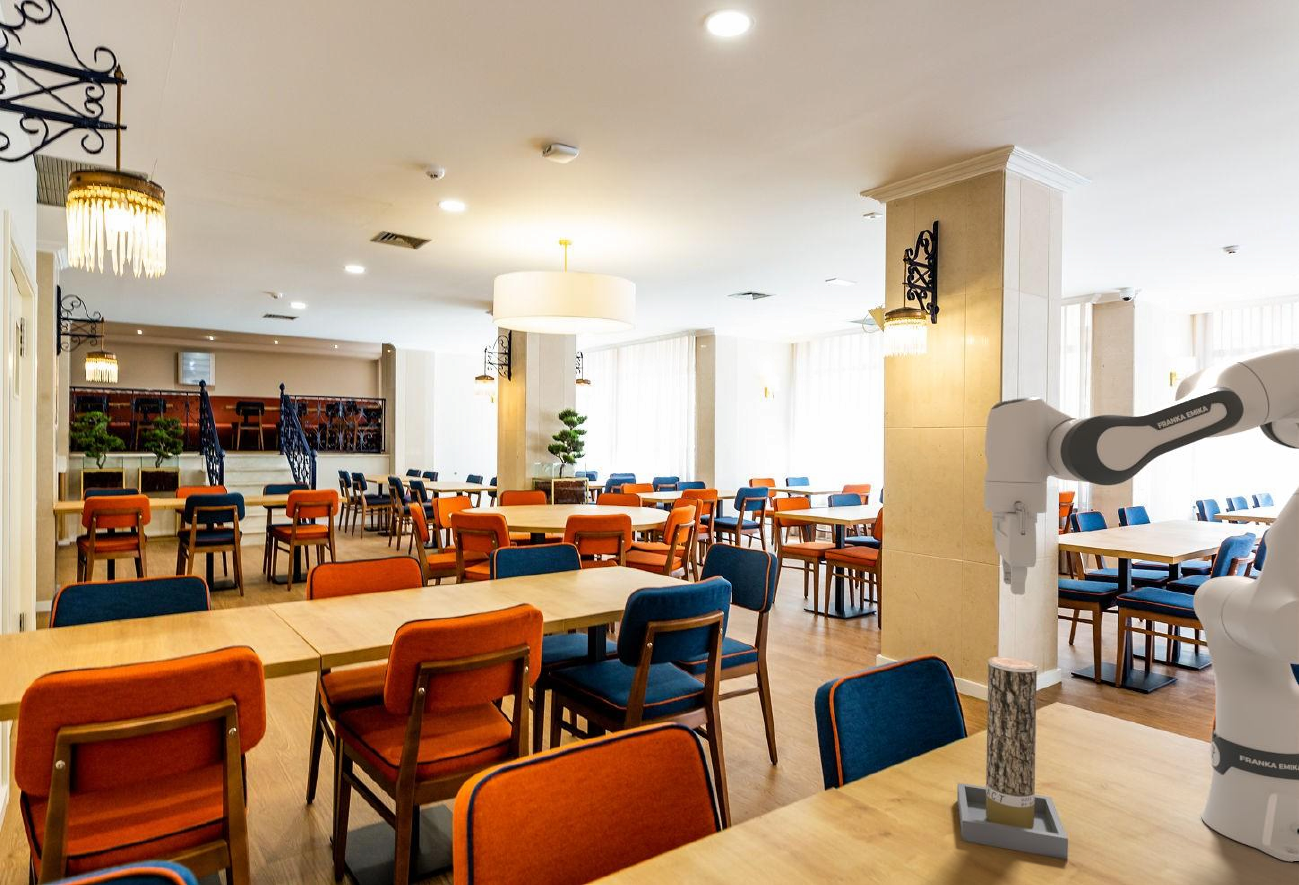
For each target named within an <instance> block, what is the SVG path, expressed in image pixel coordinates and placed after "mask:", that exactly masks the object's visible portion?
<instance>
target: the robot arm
mask: <svg viewBox="0 0 1299 885" xmlns="http://www.w3.org/2000/svg"><path fill="white" fill-rule="evenodd" d="M1257 427H1258V428H1260V430H1261V431H1262V432H1263V434H1264V436H1265V437H1266V438H1268V440H1270V441H1272V442H1273V443H1276V444H1279V445H1280V446H1282V447H1285V448H1290V449H1295V450H1297V449H1298V450H1299V348H1295V347H1281V348H1275V349H1267V350H1262V351H1256V352H1253V353H1248V354H1247V353H1246V354H1245V355H1240V356H1237V357H1234V358H1231V359H1228V360H1224V361H1221V362H1219V363H1215V364H1213V365H1210V366H1208V367H1206V368H1203V369H1201V370H1199V371H1197V372H1195V373H1194V374H1191V375H1189V376H1188V377H1186V378H1185V379H1183V380H1182V381H1181V382H1180V383H1179V385H1178V387H1177V389H1176V393H1175V401H1173V402H1171V403H1168V404H1165V405H1161V406H1159V407H1157V408H1154V409H1151V410H1149V411H1145V412H1144V413H1140V414H1138V415H1133V416H1132V415H1121V414H1119V415H1118V414H1100V415H1096V416H1092V417H1085V418H1084V417H1083V418H1077V417H1074V416H1072V415H1069V414H1067V413H1065V412H1062V411H1060V410H1058V409H1056V408H1054V407H1053V406H1052V405H1049V403H1047V402H1046V401H1044V400H1043V398H1041V397H1040V396H1039V397H1038V396H1026V397H1021V398H1020V397H1019V398H1014V399H1009V400H1004V401H999V402H997V403H996V404H994V405H993V406H992V407H991V408H990V410H989V413H988V417H987V421H986V428H985V429H986V430H985V441H984V442H985V444H984V454H985V458H986V462H987V468H986V469H987V470H986V473H985V475H984V484H983V485H984V492H983V493H984V494H983V495H984V497H983V498H984V499H983V500H984V501H983V510H985V511H988V512H991V520H992V523H991V524H992V532H993V541H994V542H993V543H994V548H995V551H996V552H997V553H998V554H999V555H1000V557H1001V562H1002V572H1003V577H1002V578H1003V583H1005V584H1006V585H1010V591H1011V593H1012V594H1013V595H1025V593H1026V580H1027V576H1028V568H1034V567H1036V563H1037V528H1036V527H1037V526H1036V524H1037V523H1038V514H1045V513H1047V500H1048V499H1047V497H1048V493H1047V492H1048V489H1047V488H1048V479H1049V476H1051V477H1053V478H1055V479H1059V480H1062V481H1063V480H1065V481H1071V482H1072V481H1073V482H1083V483H1085V482H1086V483H1090V484H1095V485H1099V486H1115V485H1116V486H1117V485H1119V484H1122V483H1125V482H1127V481H1129V480H1131V479H1132V478H1133V477H1135V475H1137V474H1139V472H1140V471H1142V470H1143V469H1144V468H1145V467H1146V466H1147V465H1148V464H1149V463H1150V462H1152V461H1153V460H1155V459H1156V458H1158V457H1159V456H1162V455H1164V454H1167V453H1169V452H1172V451H1174V450H1176V449H1180V448H1183V447H1184V446H1188V445H1190V444H1193V443H1196V442H1198V441H1201V440H1203V439H1208V438H1209V439H1210V438H1218V437H1225V436H1229V435H1234V434H1238V433H1243V432H1246V431H1249V430H1252V429H1255V428H1257ZM1264 543H1265V544H1264V545H1265V547H1266V551H1265V558H1264V560H1263V564H1262V568H1261V570H1260V573H1259V575H1258V576H1257V577H1256V578H1251V577H1248V576H1243V575H1223V576H1217V577H1213V578H1210V579H1208V580H1206V581H1205V582H1203V583H1201V585H1199V587H1198V588H1197V589H1196V590H1195V593H1194V596H1193V602H1192V604H1193V605H1192V606H1193V610H1194V613H1195V615H1196V617H1197V618H1198V620H1199V622H1200V624H1201V626H1202V629H1203V633H1204V636H1205V637H1204V638H1205V641H1206V645H1207V648H1208V649H1207V650H1208V654H1209V657H1210V663H1211V667H1212V671H1213V677H1214V685H1215V729H1214V730H1212V732H1211V742H1210V761H1211V762H1210V763H1211V766H1212V774H1211V783H1210V788H1209V791H1208V792H1209V793H1208V796H1207V799H1206V802H1205V806H1204V808H1203V810H1202V812H1201V819H1202V821H1203V822H1204V823H1205V824H1206V825H1207V826H1209V827H1210V828H1211V829H1212V830H1215V831H1216V832H1218V833H1219V834H1221V835H1222V836H1225V837H1227V838H1229V839H1232V840H1234V841H1237V842H1238V843H1241V844H1244V845H1248V846H1249V847H1252V848H1255V849H1258V850H1260V851H1262V852H1264V853H1266V854H1267V855H1270V856H1271V857H1274V858H1276V859H1279V860H1282V861H1286V862H1293V861H1299V684H1298V682H1297V679H1296V677H1295V674H1294V673H1293V672H1294V671H1293V668H1292V666H1291V664H1293V665H1299V486H1298V487H1297V489H1296V490H1295V491H1294V492H1293V493H1292V495H1291V497H1290V498H1289V499H1288V501H1287V502H1286V504H1285V505H1284V506H1283V508H1282V510H1281V511H1280V513H1279V514H1278V515H1277V517H1276V519H1274V521H1273V522H1272V524H1271V526H1270V527H1269V529H1268V530H1267V531H1266V532H1265V535H1264Z"/></svg>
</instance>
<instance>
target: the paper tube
mask: <svg viewBox="0 0 1299 885" xmlns="http://www.w3.org/2000/svg"><path fill="white" fill-rule="evenodd" d="M987 664H988V668H987V712H986V713H987V715H986V716H987V717H986V718H987V720H986V721H987V722H986V723H987V724H986V727H987V728H986V769H985V770H986V772H985V773H986V778H985V781H986V782H985V787H986V818H987V819H988V821H989V822H992V823H998V824H1003V825H1009V826H1015V827H1021V828H1027V829H1032V828H1033V826H1034V801H1035V795H1036V794H1035V790H1036V787H1035V784H1036V740H1037V738H1036V737H1037V736H1036V734H1037V726H1036V725H1037V681H1038V680H1037V676H1038V674H1037V673H1038V672H1037V671H1038V670H1037V667H1038V666H1037V664H1036V663H1034V662H1032V661H1030V660H1026V659H1021V658H1016V657H1009V656H993V657H989V659H988V663H987Z"/></svg>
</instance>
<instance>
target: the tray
mask: <svg viewBox="0 0 1299 885" xmlns="http://www.w3.org/2000/svg"><path fill="white" fill-rule="evenodd" d="M956 789H957V792H956V793H957V796H956V799H957V800H956V802H957V810H959V811H958V816H959V825H960V826H961V827H960V834H961V841H962V842H967V843H974V844H978V845H979V844H980V845H984V846H989V847H997V848H1000V849H1001V848H1002V849H1006V850H1012V851H1017V852H1018V851H1019V852H1023V853H1029V854H1034V855H1040V856H1045V857H1051V858H1055V859H1062V860H1067V861H1068V859H1069V858H1068V856H1069V855H1068V853H1069V850H1068V849H1069V847H1068V846H1069V837H1068V836H1067V833H1066V831H1065V828H1064V825H1063V823H1062V821H1061V818H1060V816H1059V813H1058V810H1057V808H1056V806H1055V803H1054V800H1053V799H1052V796H1045V795H1038V794H1035V801H1034V826H1033V828H1032V829H1027V828H1021V827H1015V826H1009V825H1003V824H998V823H992V822H989V821H988V819H987V818H986V786H981V785H976V784H968V783H961V782H957V788H956Z"/></svg>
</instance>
